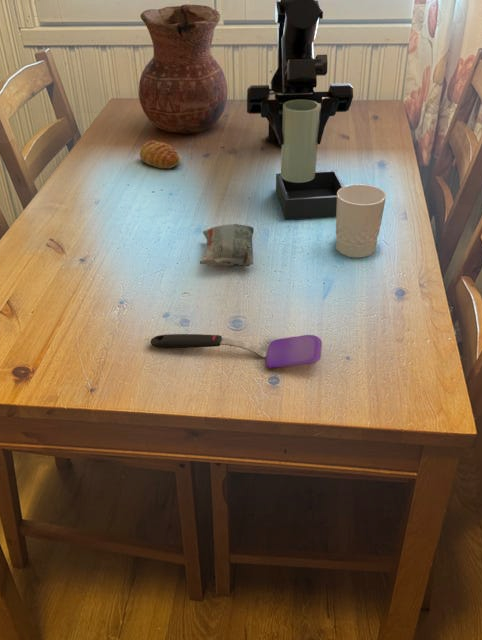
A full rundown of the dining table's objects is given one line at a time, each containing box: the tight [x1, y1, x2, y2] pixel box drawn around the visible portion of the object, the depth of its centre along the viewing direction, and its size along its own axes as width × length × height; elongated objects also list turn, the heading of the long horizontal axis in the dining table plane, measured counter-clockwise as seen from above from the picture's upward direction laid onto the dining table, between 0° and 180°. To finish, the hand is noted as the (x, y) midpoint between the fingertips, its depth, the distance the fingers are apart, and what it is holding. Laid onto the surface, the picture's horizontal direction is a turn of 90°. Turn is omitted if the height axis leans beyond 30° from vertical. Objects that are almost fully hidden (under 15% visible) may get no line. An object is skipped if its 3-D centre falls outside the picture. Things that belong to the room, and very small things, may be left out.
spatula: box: [150, 333, 323, 369], centre depth 95 cm, size 24×7×2 cm, turn 80°
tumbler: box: [280, 99, 321, 183], centre depth 124 cm, size 6×6×13 cm
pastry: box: [139, 140, 181, 169], centre depth 148 cm, size 9×7×4 cm
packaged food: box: [199, 223, 255, 268], centre depth 115 cm, size 9×12×5 cm
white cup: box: [335, 183, 387, 259], centre depth 115 cm, size 8×8×10 cm
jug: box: [138, 3, 228, 135], centre depth 160 cm, size 22×21×25 cm
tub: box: [275, 169, 346, 221], centre depth 131 cm, size 12×12×4 cm
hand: (300, 143), depth 123 cm, fingers closed on tumbler, 6 cm apart
